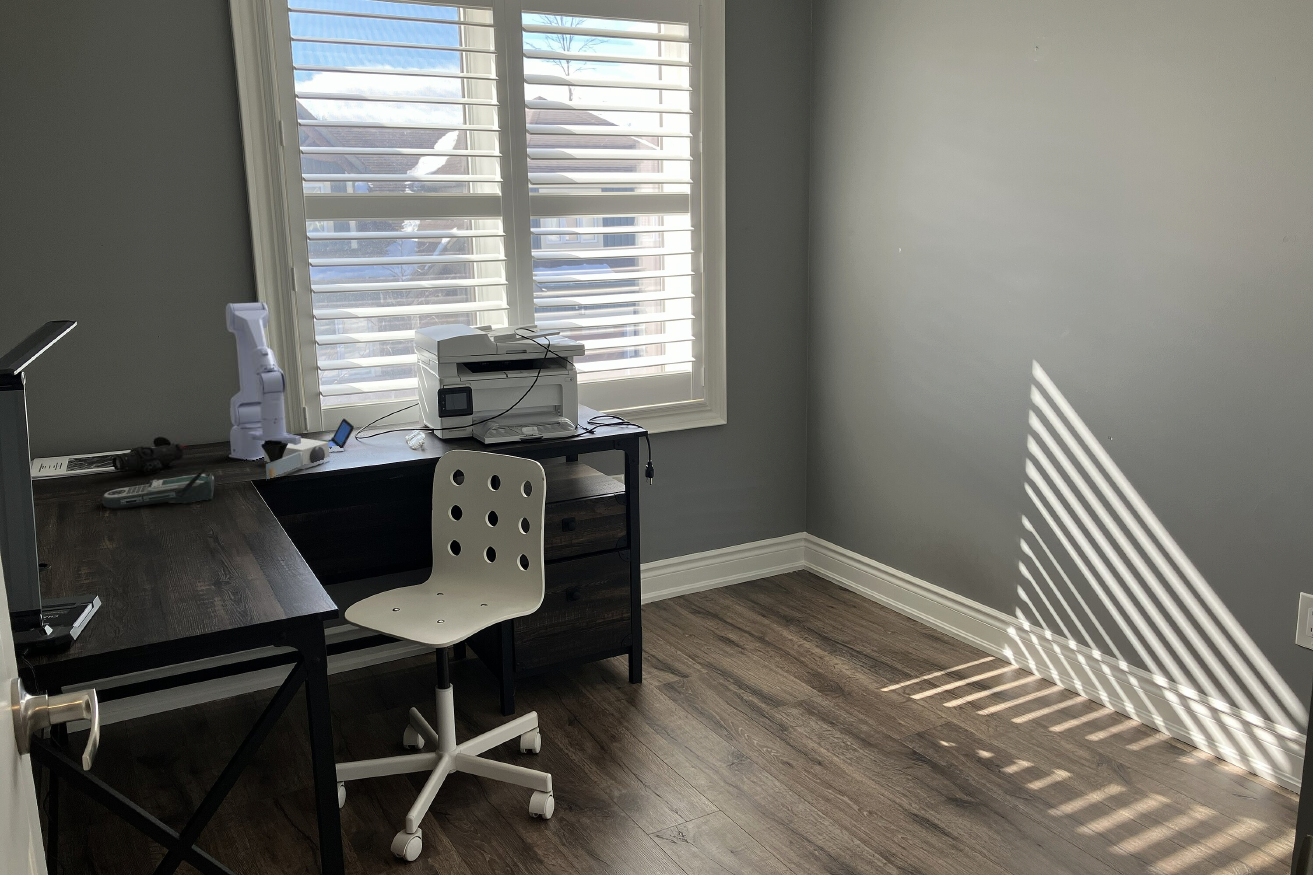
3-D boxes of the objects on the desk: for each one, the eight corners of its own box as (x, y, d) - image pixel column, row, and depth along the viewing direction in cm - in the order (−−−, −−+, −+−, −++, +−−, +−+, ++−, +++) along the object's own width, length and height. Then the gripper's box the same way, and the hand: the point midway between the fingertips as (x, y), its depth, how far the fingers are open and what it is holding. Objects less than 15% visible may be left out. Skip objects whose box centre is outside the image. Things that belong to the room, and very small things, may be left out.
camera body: (264, 463, 269) (262, 441, 268) (291, 455, 278) (290, 434, 277) (305, 470, 263) (304, 448, 262) (332, 461, 272) (330, 440, 271)
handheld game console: (308, 445, 291) (306, 421, 289) (345, 441, 296) (344, 417, 294) (317, 455, 280) (315, 429, 278) (355, 451, 285) (354, 426, 284)
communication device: (107, 500, 237) (103, 464, 235) (215, 490, 245) (212, 455, 243) (100, 514, 226) (95, 477, 224) (213, 503, 234) (209, 467, 232)
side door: (300, 467, 263) (299, 451, 262) (305, 468, 263) (304, 452, 262) (266, 481, 250) (265, 464, 249) (271, 481, 250) (270, 464, 249)
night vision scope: (119, 488, 252) (100, 459, 255) (183, 474, 267) (165, 447, 270) (128, 468, 249) (109, 439, 251) (193, 455, 263) (174, 428, 266)
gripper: (238, 418, 251) (242, 470, 254) (287, 423, 247) (290, 475, 250) (257, 413, 257) (260, 463, 260) (304, 417, 253) (307, 468, 256)
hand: (276, 468), depth 255 cm, fingers closed
